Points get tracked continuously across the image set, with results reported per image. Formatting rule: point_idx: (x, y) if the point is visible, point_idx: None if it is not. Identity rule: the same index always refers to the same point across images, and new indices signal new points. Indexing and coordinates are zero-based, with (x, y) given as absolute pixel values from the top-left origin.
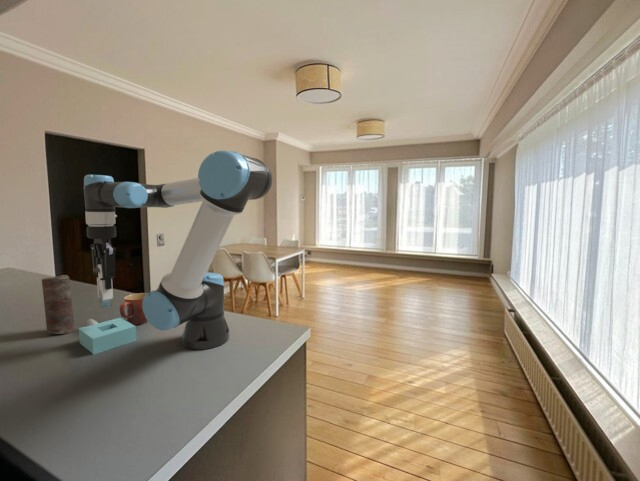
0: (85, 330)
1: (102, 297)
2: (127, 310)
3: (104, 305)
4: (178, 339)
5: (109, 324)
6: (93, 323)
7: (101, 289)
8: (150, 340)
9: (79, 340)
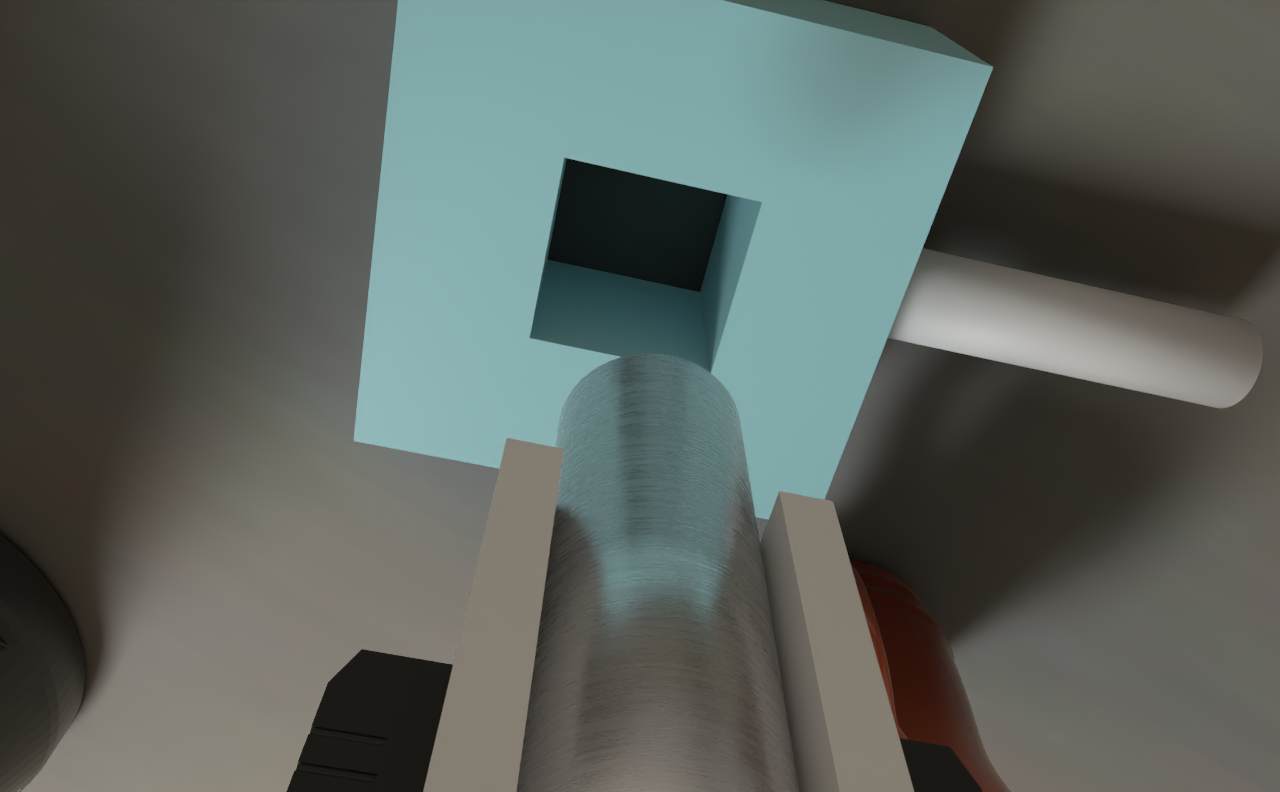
0: (814, 64)
1: (549, 477)
2: (896, 673)
3: (577, 402)
4: (68, 531)
5: (720, 342)
6: (1067, 322)
7: (597, 630)
8: (276, 411)
9: (938, 32)
